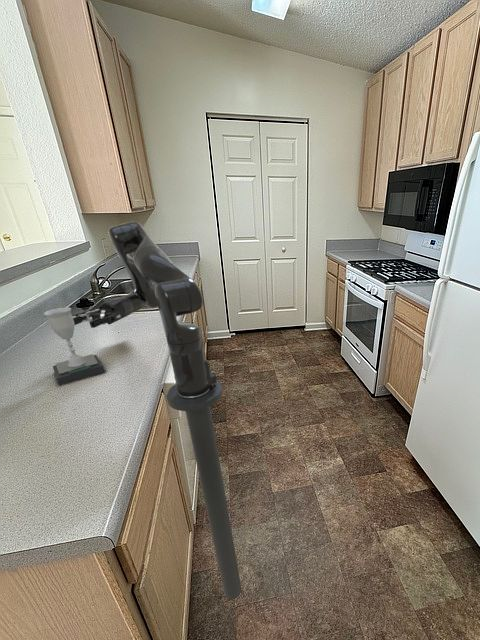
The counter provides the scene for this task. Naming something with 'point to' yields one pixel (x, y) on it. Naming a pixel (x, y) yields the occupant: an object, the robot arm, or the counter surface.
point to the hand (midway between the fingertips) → (80, 324)
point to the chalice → (64, 331)
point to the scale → (79, 373)
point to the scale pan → (64, 367)
